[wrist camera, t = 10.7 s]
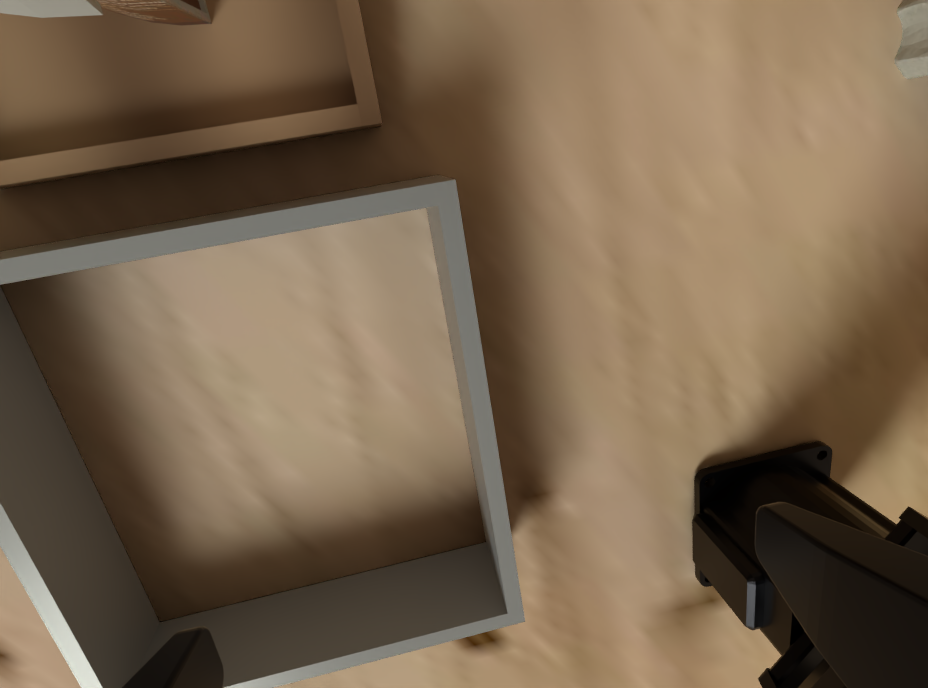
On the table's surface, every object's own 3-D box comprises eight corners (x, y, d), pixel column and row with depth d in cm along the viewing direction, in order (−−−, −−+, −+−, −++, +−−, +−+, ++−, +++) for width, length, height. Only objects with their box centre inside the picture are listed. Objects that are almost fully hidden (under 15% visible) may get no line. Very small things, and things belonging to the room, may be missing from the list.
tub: (438, 174, 18) (455, 179, 15) (501, 549, 24) (525, 621, 20) (-35, 257, 17) (-150, 286, 13) (150, 636, 23) (106, 731, 19)
